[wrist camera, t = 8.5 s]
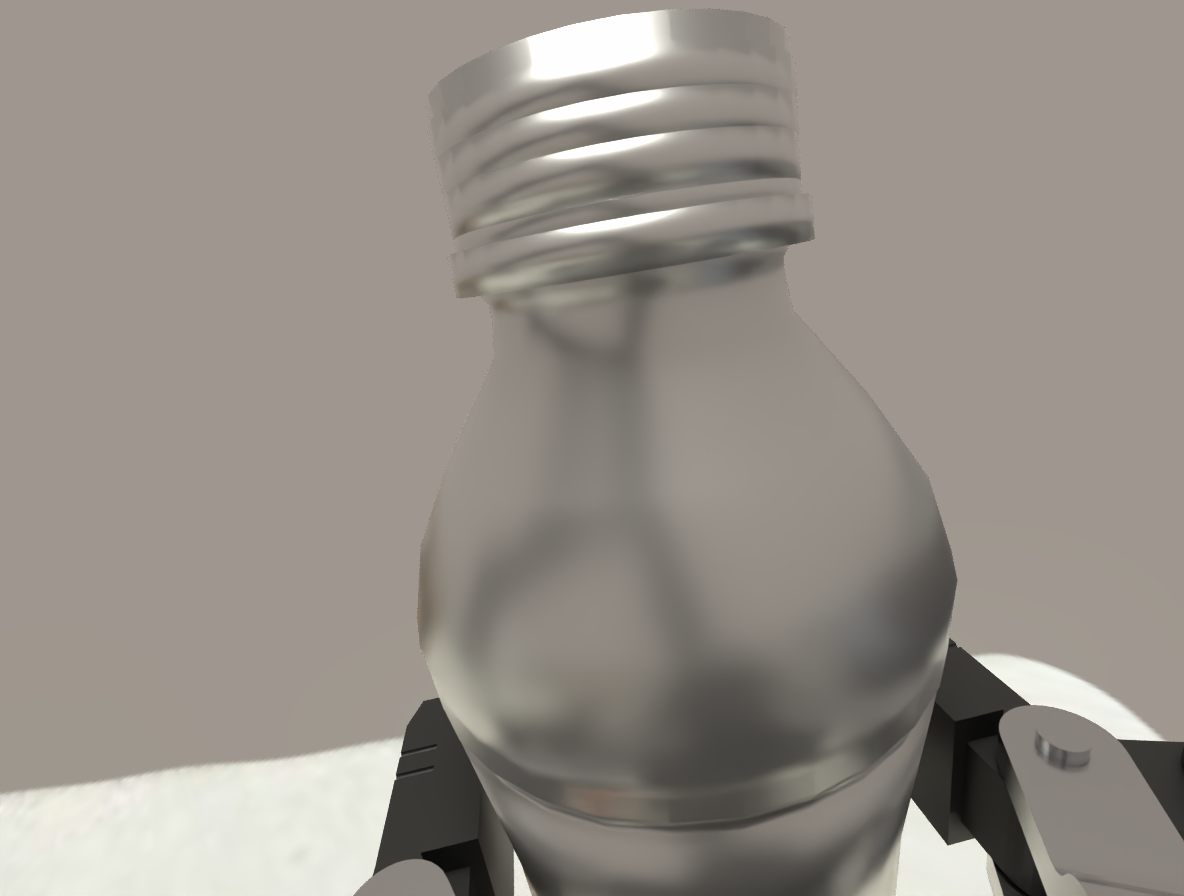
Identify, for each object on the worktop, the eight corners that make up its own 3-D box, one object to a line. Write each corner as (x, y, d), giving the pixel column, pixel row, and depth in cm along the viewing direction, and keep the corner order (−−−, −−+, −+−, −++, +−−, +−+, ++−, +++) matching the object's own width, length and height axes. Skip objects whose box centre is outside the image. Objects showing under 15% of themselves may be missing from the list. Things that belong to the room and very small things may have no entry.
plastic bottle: (532, 1147, 13) (202, 175, 6) (731, 919, 16) (640, 156, 10) (778, 1694, 8) (333, -403, 1) (989, 1187, 11) (1122, -24, 5)
